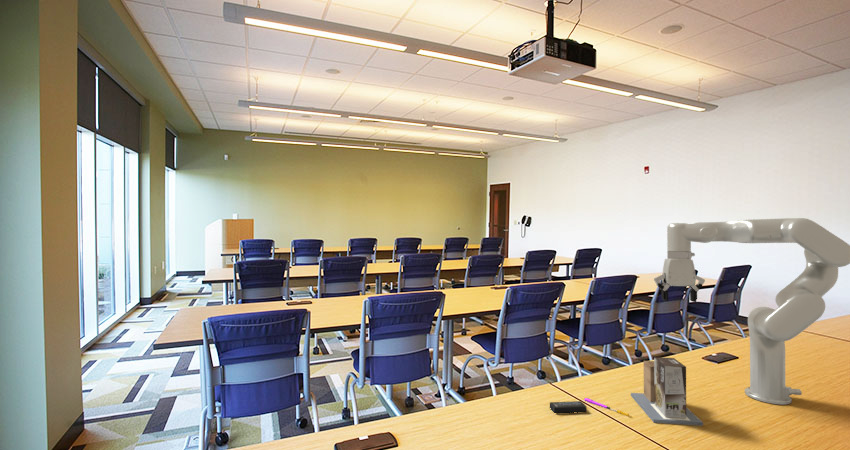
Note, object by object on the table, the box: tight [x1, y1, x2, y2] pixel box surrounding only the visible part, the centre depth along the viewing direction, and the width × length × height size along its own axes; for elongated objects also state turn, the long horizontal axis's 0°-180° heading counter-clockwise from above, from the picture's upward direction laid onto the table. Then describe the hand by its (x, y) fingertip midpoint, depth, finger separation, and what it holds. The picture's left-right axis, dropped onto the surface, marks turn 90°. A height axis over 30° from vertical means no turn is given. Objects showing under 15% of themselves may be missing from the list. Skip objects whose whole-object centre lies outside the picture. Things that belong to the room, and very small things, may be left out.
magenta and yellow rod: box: [584, 397, 633, 418], centre depth 135 cm, size 3×1×16 cm
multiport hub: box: [549, 400, 588, 414], centre depth 134 cm, size 4×11×2 cm, turn 95°
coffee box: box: [653, 356, 687, 419], centre depth 130 cm, size 9×6×16 cm
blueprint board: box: [630, 360, 704, 427], centre depth 134 cm, size 14×20×13 cm
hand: (679, 301), depth 152 cm, fingers open, 9 cm apart
